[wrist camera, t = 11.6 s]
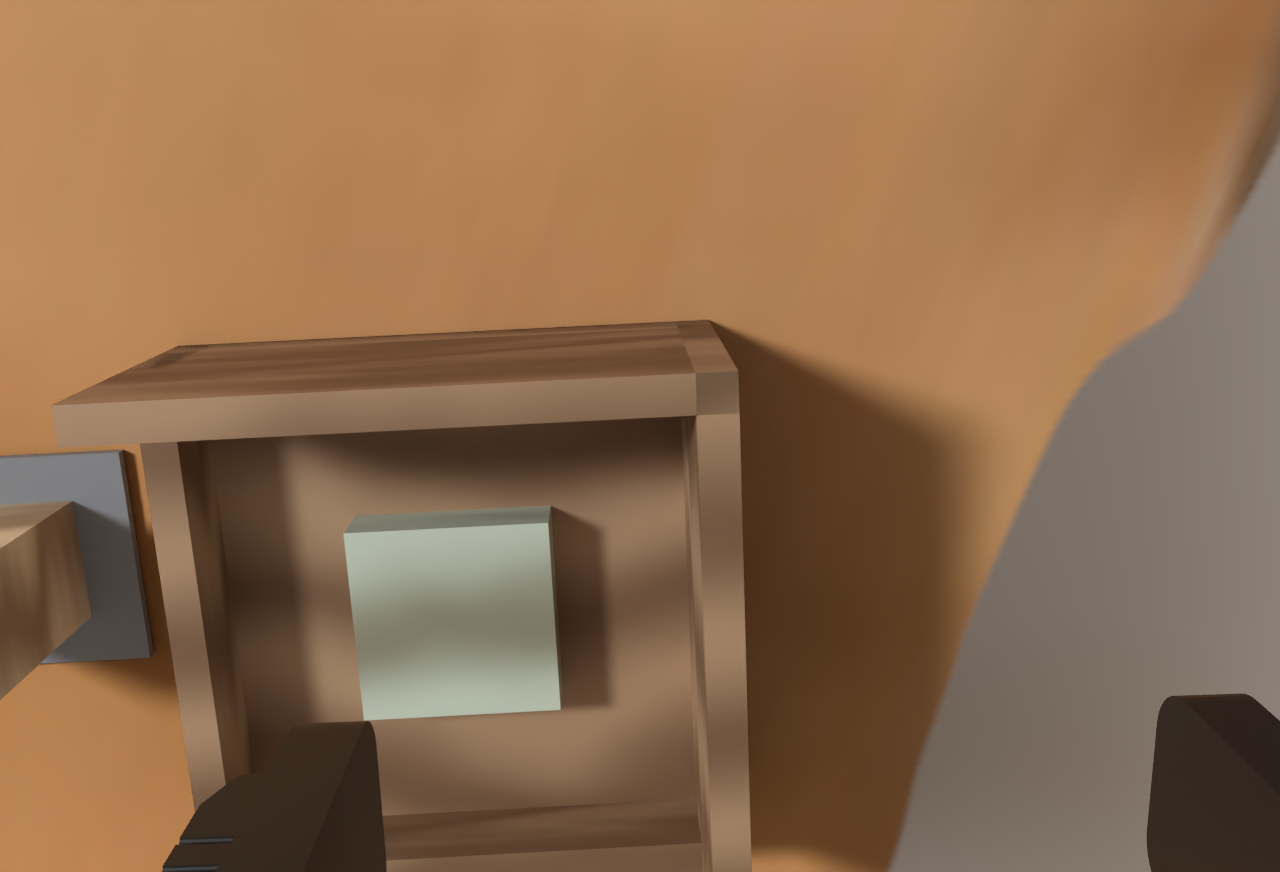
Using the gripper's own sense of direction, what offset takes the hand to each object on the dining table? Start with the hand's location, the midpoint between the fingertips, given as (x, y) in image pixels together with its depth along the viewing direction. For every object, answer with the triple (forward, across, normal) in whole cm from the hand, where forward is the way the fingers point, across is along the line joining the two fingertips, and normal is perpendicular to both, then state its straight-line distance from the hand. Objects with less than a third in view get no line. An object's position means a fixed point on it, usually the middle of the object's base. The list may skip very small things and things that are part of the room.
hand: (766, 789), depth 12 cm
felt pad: (+32, +23, +8) cm, 40 cm away
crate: (+32, +7, +10) cm, 34 cm away
